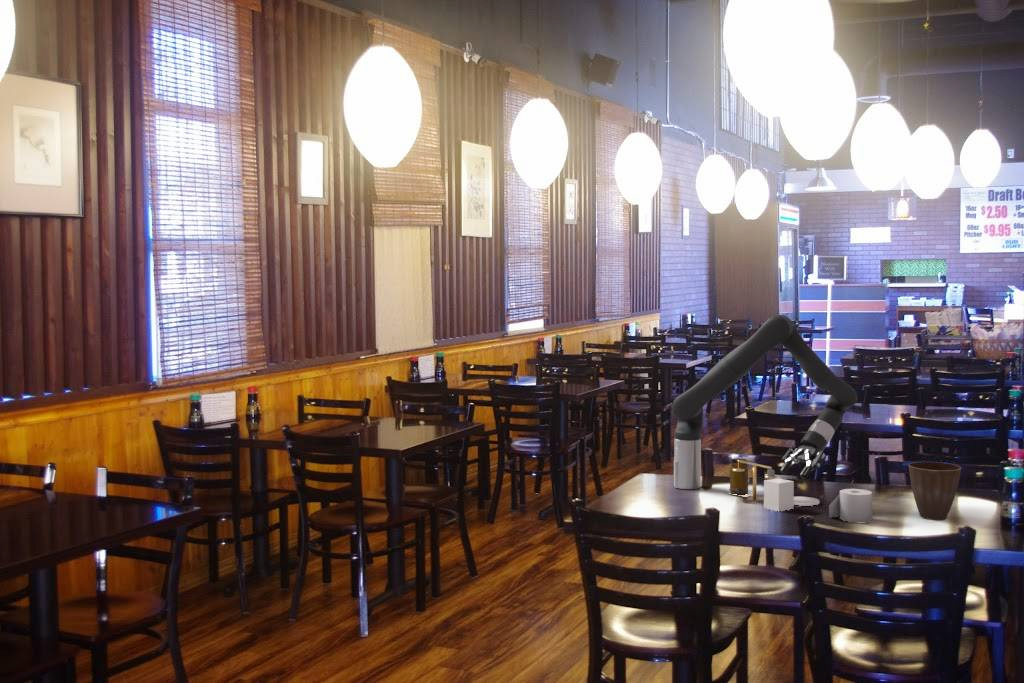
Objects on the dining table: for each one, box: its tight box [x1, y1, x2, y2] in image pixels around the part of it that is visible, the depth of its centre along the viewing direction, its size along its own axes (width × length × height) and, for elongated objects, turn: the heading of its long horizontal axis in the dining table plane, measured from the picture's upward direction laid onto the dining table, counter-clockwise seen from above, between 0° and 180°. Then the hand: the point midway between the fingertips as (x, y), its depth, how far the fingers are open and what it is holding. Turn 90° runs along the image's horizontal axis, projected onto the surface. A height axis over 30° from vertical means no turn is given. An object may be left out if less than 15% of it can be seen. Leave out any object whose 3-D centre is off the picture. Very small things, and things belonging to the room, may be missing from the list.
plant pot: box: [908, 461, 962, 521], centre depth 317 cm, size 15×15×16 cm
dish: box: [794, 495, 820, 507], centre depth 339 cm, size 11×11×1 cm
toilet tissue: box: [828, 488, 873, 523], centre depth 315 cm, size 9×13×9 cm
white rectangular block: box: [763, 477, 795, 513], centre depth 331 cm, size 6×6×9 cm
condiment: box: [729, 458, 749, 495], centre depth 354 cm, size 7×8×12 cm
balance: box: [732, 460, 778, 504], centre depth 342 cm, size 15×5×14 cm, turn 85°
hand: (792, 475), depth 334 cm, fingers open, 8 cm apart
